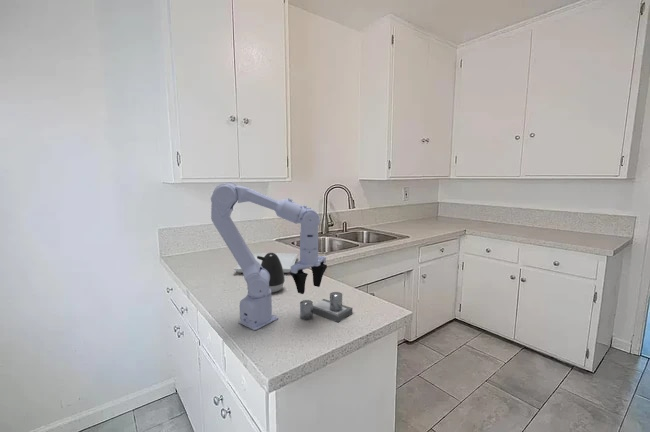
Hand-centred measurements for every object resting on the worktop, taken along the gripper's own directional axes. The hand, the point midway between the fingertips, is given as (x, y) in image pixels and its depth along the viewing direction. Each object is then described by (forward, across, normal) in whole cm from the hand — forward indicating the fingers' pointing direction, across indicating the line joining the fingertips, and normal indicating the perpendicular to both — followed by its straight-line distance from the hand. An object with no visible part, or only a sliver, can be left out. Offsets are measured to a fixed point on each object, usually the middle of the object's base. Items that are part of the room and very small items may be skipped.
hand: (309, 289), depth 99 cm
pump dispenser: (+10, +8, +27) cm, 29 cm away
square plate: (+10, +28, +51) cm, 59 cm away
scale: (+9, +7, -3) cm, 12 cm away
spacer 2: (+7, +6, -6) cm, 11 cm away
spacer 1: (+9, 0, +1) cm, 9 cm away
